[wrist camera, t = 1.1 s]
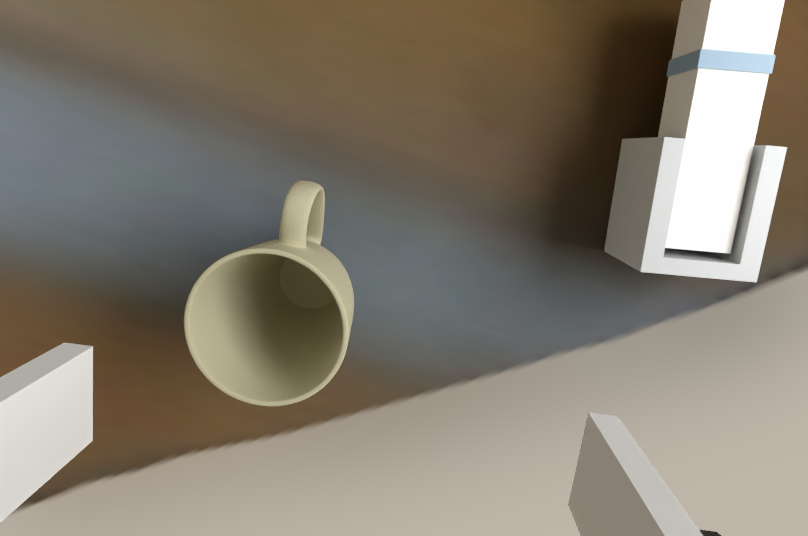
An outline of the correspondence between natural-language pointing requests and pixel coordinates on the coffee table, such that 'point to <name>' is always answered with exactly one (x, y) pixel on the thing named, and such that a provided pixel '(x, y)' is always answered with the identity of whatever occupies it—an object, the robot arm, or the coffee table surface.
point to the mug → (274, 311)
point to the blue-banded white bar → (716, 113)
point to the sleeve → (653, 201)
